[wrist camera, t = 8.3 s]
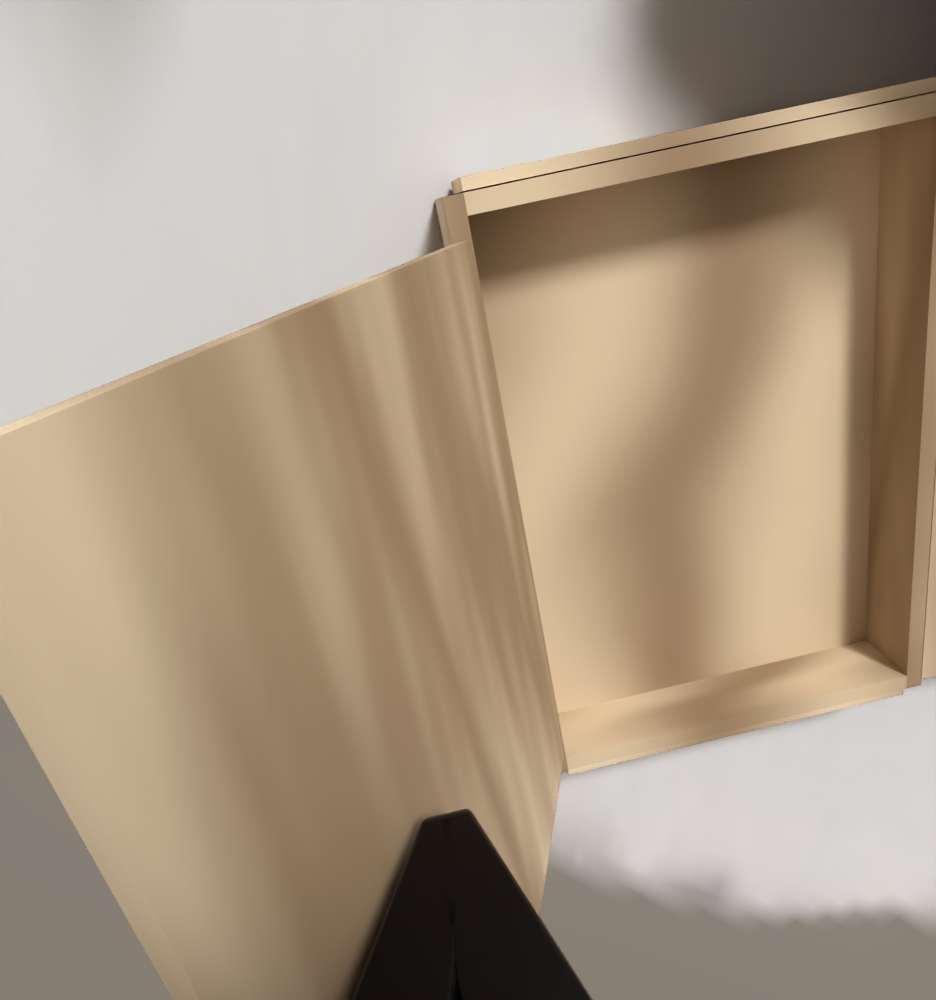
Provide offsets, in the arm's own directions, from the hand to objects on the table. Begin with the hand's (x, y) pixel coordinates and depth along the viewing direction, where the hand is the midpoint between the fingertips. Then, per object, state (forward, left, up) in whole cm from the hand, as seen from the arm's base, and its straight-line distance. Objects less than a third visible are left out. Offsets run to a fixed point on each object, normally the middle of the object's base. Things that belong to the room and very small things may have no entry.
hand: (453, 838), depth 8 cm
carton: (-9, 0, -10) cm, 14 cm away
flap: (-2, 0, -7) cm, 8 cm away
